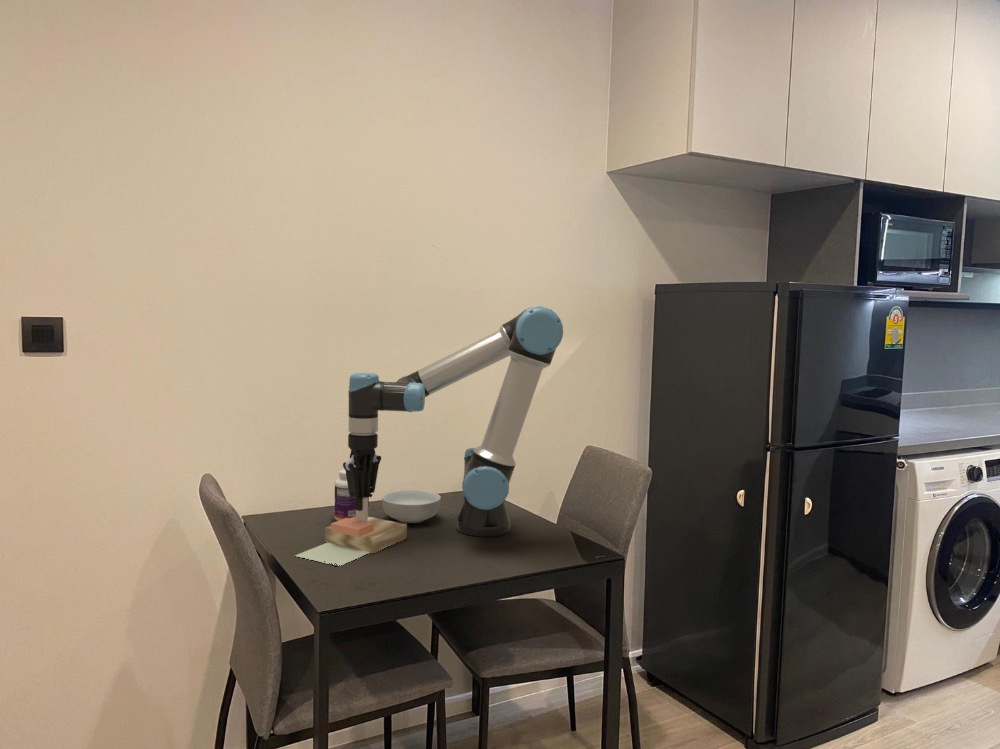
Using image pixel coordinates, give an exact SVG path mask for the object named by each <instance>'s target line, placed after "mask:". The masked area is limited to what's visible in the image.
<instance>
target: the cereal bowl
mask: <svg viewBox="0 0 1000 749" xmlns="http://www.w3.org/2000/svg"><path fill="white" fill-rule="evenodd" d="M381 498H382V499H381V503H382V508H383V511H384V512H385V514H386V515H387V516H388V517H390V518H391V519H394V520H397V522H398V523H403V524H407V523H415V524H420V523H422V522H425V520H428V519H430V518H433V517H434V516H435V515H437V513H439V510H440V507H441V504H442V503H441V501H442V497H441V495H440V494H438V493H436V492H434V491H429V490H425V489H416V488H415V489H414V488H413V489H411V488H407V489H398V490H393V491H389V492H386V493H384V494H383V495H382V497H381Z"/></svg>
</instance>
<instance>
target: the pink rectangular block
mask: <svg viewBox="0 0 1000 749" xmlns="http://www.w3.org/2000/svg"><path fill="white" fill-rule="evenodd" d="M330 526H331V531H333V532H337V533H342V534H346V535H351V536H355V537H360V536H363V535H365V534H368V533H370V532H373V531H374V523H369V522H364V521H359V520H354V519H349V518H345V519H342V520H340V521H337V520H336V521H335V522H332V523H331V524H330Z"/></svg>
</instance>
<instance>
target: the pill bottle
mask: <svg viewBox="0 0 1000 749" xmlns="http://www.w3.org/2000/svg"><path fill="white" fill-rule="evenodd" d="M338 474H339V478H337V479H336V480H335V482H334V519H335V521H336V522H337V521H340V520H342V519H345V518H349V519H350V518H353V517H355V516H356V509H355V497H351V496H349V490H348V483H347V477H346V471H345V469H341V470H339V472H338Z"/></svg>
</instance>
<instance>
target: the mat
mask: <svg viewBox="0 0 1000 749" xmlns="http://www.w3.org/2000/svg"><path fill="white" fill-rule="evenodd" d="M369 553H370V554H372V553H371V552H368V551H364V550H360V549H355V548H351V547H346V546H342V545H338V544H333V543H329V542H327V543H325V542H324V543H323V544H321V545H318V546H315V547H313V548H310V549H307V550H305V551H303V552H300V553H298V554H296V555H294V557H295V556H296V557H295V558H297V557H300V558H299V559H302V558H305V559H304V560H306V559H309V560H308V561H310V560H314V561H318V562H322V563H326V564H329V563H330V564H331V563H332V564H333V565H334V564H335V563H336V564H337V565H338V566H339V565H340V566H341V565H344V564H346V563H348V562H350V563H352V562H351V561H353V560H355V559H357V560H359V559H361V558H363V557H362V556H364V555H366V554H368V555H370V554H369ZM366 556H367V555H366ZM360 557H361V558H360ZM364 557H365V556H364ZM358 558H359V559H358ZM314 561H313V562H314ZM324 561H325V562H324ZM355 561H356V560H355ZM318 562H317V563H318ZM353 562H354V561H353ZM322 563H321V564H322ZM326 564H325V565H326ZM336 564H335V565H336ZM348 564H349V563H348ZM346 565H347V564H346ZM344 566H345V565H344Z"/></svg>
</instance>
